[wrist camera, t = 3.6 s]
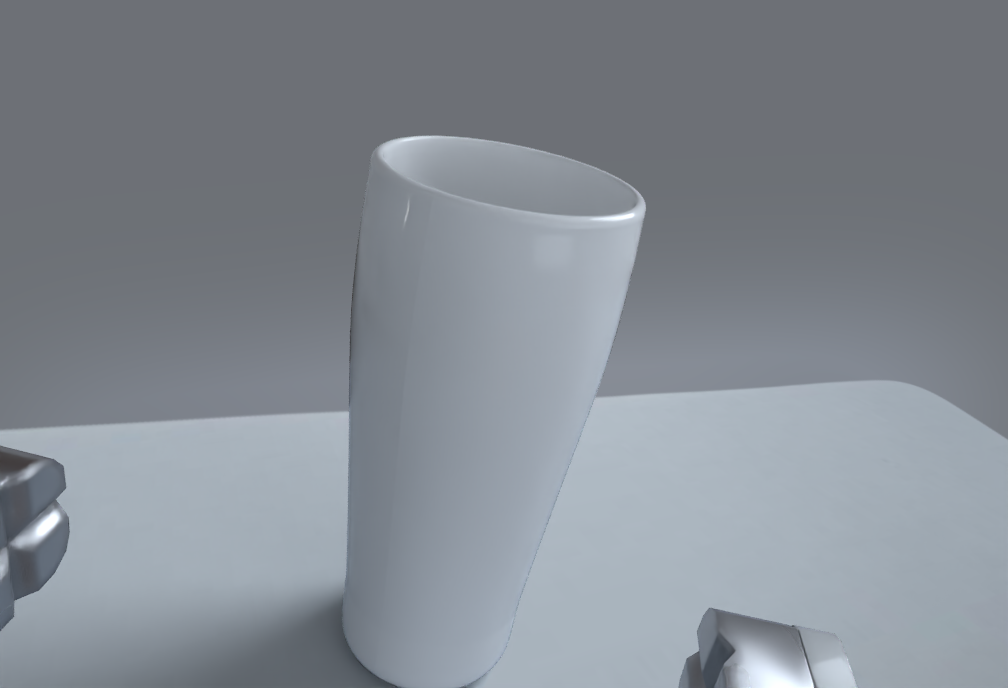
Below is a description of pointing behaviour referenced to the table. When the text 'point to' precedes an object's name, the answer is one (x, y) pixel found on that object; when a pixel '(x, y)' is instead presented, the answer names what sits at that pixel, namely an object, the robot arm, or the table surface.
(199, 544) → the table surface
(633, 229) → the drinking glass
